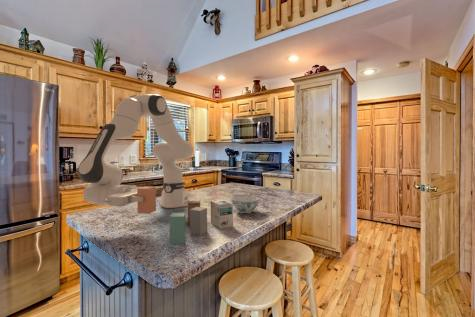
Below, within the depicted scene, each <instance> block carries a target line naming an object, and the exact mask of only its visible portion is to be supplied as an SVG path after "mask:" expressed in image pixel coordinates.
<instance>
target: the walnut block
mask: <svg viewBox="0 0 475 317" xmlns="http://www.w3.org/2000/svg"><path fill="white" fill-rule="evenodd" d="M195 207H201V200H193V201H189V202H188V206H187V225H188V226H190V209H192V208H195Z"/></svg>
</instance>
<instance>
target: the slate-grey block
mask: <svg viewBox="0 0 475 317" xmlns="http://www.w3.org/2000/svg"><path fill="white" fill-rule="evenodd" d="M207 232H208V208H207V207H202V206H200V207H195V208H192V209H190V225H189V233H190V235H196V236H199V237H200V236H203V235H205V233H207Z"/></svg>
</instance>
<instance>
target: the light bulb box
mask: <svg viewBox="0 0 475 317" xmlns="http://www.w3.org/2000/svg"><path fill="white" fill-rule="evenodd" d="M210 224H212V225H214V226H216V228H218V229H219V230H221V229H227V228H228V229H229V228H233V227H234V205H233V202H231V201H228V200H226V199H223V198H220V199H211V200H210Z"/></svg>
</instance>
